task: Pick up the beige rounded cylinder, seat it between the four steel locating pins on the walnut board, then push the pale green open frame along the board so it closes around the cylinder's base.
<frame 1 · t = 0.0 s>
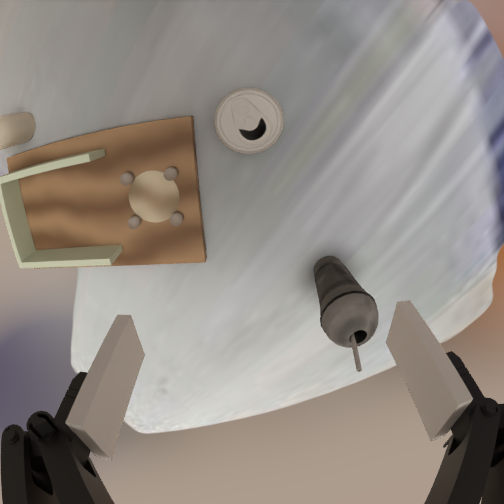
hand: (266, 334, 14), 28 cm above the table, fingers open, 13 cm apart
board: (95, 201, 39), on the table
pale green open frame: (53, 213, 36), point 4 cm above the table, slide at 12.0 cm
beverage cup: (327, 268, 45), on the table
beige rounded cylinder: (24, 127, 33), on the table
beverage can: (248, 119, 35), on the table
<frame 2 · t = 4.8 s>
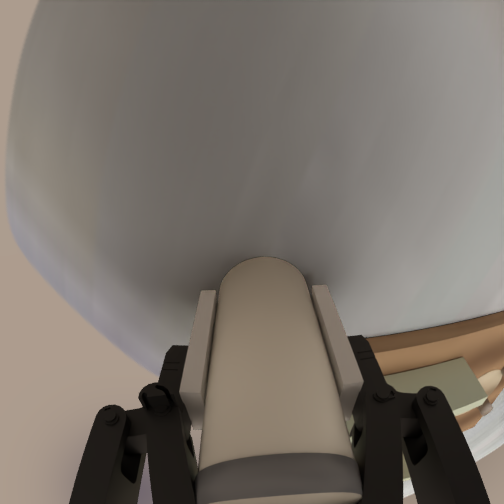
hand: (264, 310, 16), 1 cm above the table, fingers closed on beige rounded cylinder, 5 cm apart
board: (393, 407, 23), on the table
pale green open frame: (347, 452, 19), point 4 cm above the table, slide at 12.0 cm
beige rounded cylinder: (263, 296, 17), on the table, touching gripper
when the fingers open (4 cm above the table, at t = 10.2 s): beige rounded cylinder stays where it is, resting on board.
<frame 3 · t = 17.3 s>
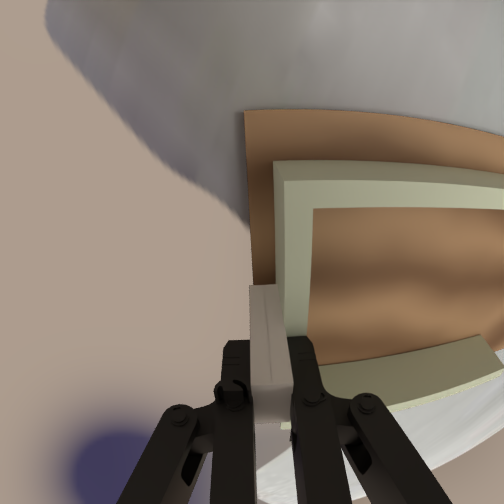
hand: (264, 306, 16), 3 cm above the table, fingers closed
board: (464, 264, 18), on the table
pale green open frame: (434, 302, 15), point 4 cm above the table, slide at 11.9 cm, touching gripper
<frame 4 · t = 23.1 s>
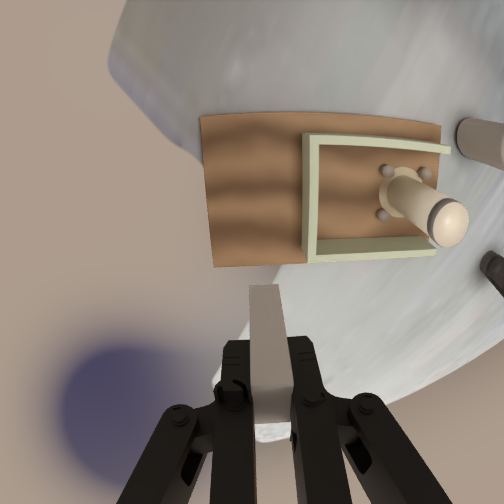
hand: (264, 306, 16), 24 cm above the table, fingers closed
board: (330, 188, 38), on the table
pale green open frame: (377, 196, 34), point 4 cm above the table, slide at 1.3 cm
beverage cup: (487, 261, 43), on the table
beige rounded cylinder: (402, 192, 36), point 2 cm above the table, touching board
beverage can: (467, 137, 34), on the table
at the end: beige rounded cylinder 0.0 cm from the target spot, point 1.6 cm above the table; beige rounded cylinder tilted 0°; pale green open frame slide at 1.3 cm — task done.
